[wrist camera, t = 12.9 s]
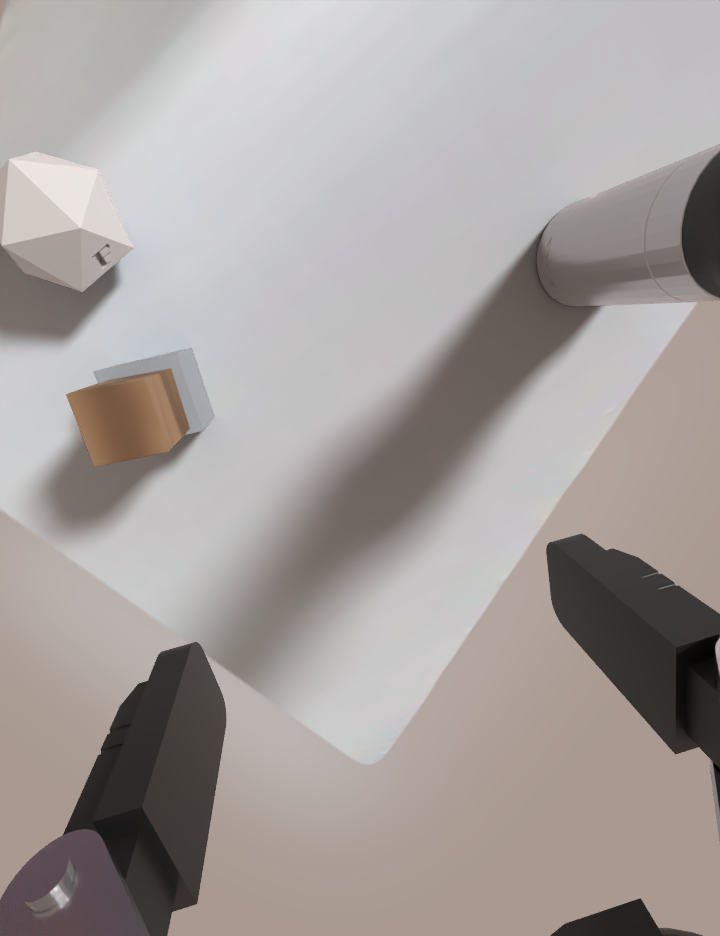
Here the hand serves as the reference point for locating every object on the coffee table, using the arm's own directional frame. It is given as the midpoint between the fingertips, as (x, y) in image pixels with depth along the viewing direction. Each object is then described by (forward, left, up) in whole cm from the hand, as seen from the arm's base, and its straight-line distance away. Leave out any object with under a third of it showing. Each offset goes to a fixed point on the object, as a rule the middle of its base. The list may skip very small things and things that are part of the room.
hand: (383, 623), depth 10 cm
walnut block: (+13, -3, -30) cm, 33 cm away
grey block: (+13, -3, -36) cm, 39 cm away
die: (+15, -17, -36) cm, 43 cm away
